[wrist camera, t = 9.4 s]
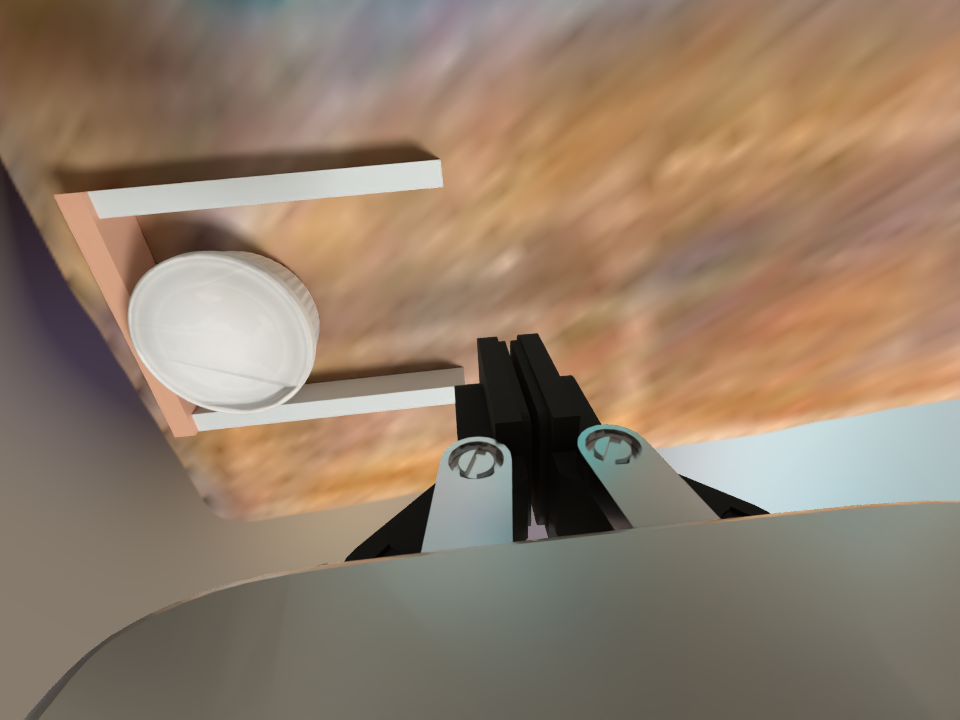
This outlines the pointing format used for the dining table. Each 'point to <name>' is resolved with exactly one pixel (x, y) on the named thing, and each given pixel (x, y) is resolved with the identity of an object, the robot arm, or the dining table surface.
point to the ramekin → (225, 329)
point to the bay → (126, 256)
